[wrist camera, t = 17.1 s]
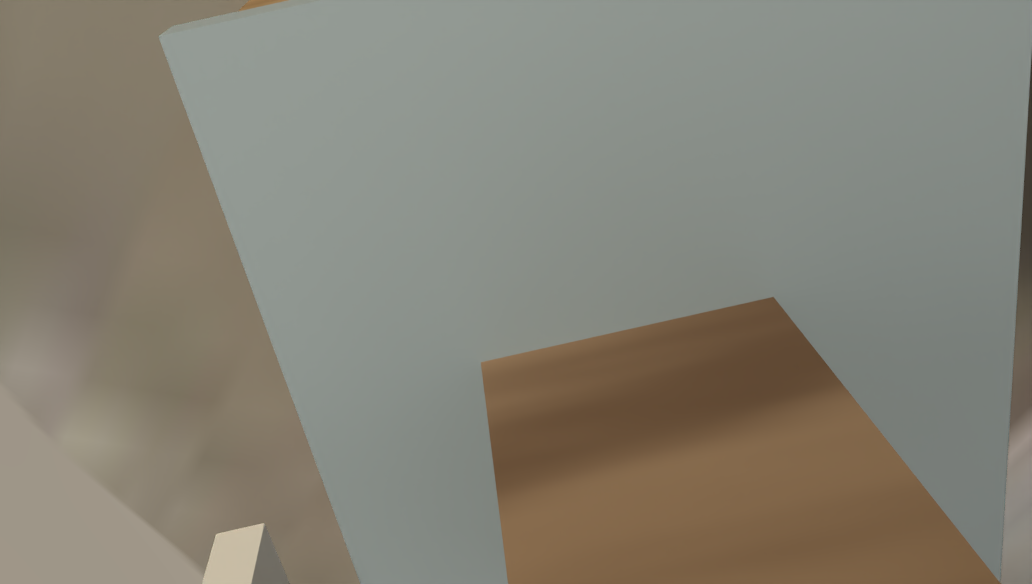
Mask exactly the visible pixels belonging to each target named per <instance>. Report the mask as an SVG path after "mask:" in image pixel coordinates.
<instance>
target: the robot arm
mask: <svg viewBox="0 0 1032 584" xmlns="http://www.w3.org/2000/svg"><path fill="white" fill-rule="evenodd" d="M202 584H290V583H289V581H288V578H287V576H286V574H285V571H284V569H283V566H282V564H281V562H280V559H279V557H278V554H277V552H276V550H275V547H274V545H273V542H272V540H271V538H270V535H269V533H268V530H267V528H266V526H265V523H263V524H258V525H254V526H249V527H245V528H240V529H236V530H232V531H227V532H223V533H218V534H216V536H215V540H214V543H213V547H212V550H211V554H210V557H209V561H208V565H207V568H206V572H205V575H204V579H203V582H202Z"/></svg>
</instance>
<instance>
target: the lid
mask: <svg viewBox="0 0 1032 584" xmlns="http://www.w3.org/2000/svg"><path fill="white" fill-rule="evenodd" d="M159 39H160V42H161V45H162V47H163V50H164V53H165V55H166V58H167V61H168V64H169V66H170V69H171V72H172V74H173V77H174V80H175V82H176V85H177V88H178V91H179V93H180V96H181V99H182V101H183V104H184V107H185V110H186V112H187V115H188V118H189V120H190V123H191V126H192V129H193V131H194V134H195V137H196V139H197V142H198V145H199V147H200V150H201V153H202V156H203V158H204V161H205V164H206V166H207V169H208V172H209V175H210V177H211V180H212V183H213V185H214V188H215V191H216V194H217V196H218V199H219V202H220V204H221V207H222V210H223V213H224V215H225V218H226V221H227V223H228V226H229V229H230V231H231V234H232V237H233V240H234V242H235V245H236V248H237V250H238V253H239V256H240V259H241V261H242V264H243V267H244V269H245V272H246V275H247V278H248V280H249V283H250V286H251V288H252V291H253V294H254V296H255V299H256V302H257V305H258V307H259V310H260V313H261V315H262V318H263V321H264V324H265V326H266V329H267V332H268V334H269V337H270V340H271V343H272V345H273V348H274V351H275V353H276V356H277V359H278V361H279V364H280V367H281V370H282V372H283V375H284V378H285V380H286V383H287V386H288V389H289V391H290V394H291V397H292V399H293V402H294V405H295V408H296V410H297V413H298V416H299V418H300V421H301V424H302V427H303V429H304V432H305V435H306V437H307V440H308V443H309V445H310V448H311V451H312V454H313V456H314V459H315V462H316V464H317V467H318V470H319V473H320V475H321V478H322V481H323V483H324V486H325V489H326V492H327V494H328V497H329V500H330V502H331V505H332V508H333V510H334V513H335V516H336V519H337V521H338V524H339V527H340V529H341V532H342V535H343V538H344V540H345V543H346V546H347V548H348V551H349V554H350V557H351V559H352V562H353V565H354V567H355V570H356V573H357V575H358V578H359V581H360V584H508V579H507V571H506V563H505V555H504V547H503V539H502V530H501V522H500V514H499V506H498V498H497V490H496V482H495V474H494V466H493V458H492V450H491V442H490V434H489V425H488V417H487V409H486V401H485V393H484V385H483V377H482V369H481V362H484V361H489V360H493V359H498V358H502V357H507V356H511V355H516V354H520V353H524V352H529V351H533V350H538V349H542V348H547V347H551V346H556V345H560V344H565V343H569V342H574V341H578V340H583V339H587V338H592V337H596V336H601V335H605V334H609V333H614V332H618V331H623V330H627V329H632V328H636V327H641V326H645V325H650V324H654V323H659V322H663V321H668V320H672V319H677V318H681V317H686V316H690V315H694V314H699V313H703V312H708V311H712V310H717V309H721V308H726V307H730V306H735V305H739V304H744V303H748V302H753V301H757V300H762V299H766V298H771V297H774V298H775V299H776V301H777V302H778V303H779V304H780V306H781V307H782V308H783V309H784V311H785V312H786V313H787V315H788V316H789V317H790V318H791V320H792V321H793V322H794V323H795V325H796V326H797V327H798V328H799V330H800V331H801V332H802V333H803V335H804V336H805V337H806V338H807V340H808V341H809V342H810V344H811V345H812V346H813V347H814V349H815V350H816V351H817V352H818V354H819V355H820V356H821V357H822V359H823V360H824V361H825V362H826V364H827V365H828V366H829V368H830V369H831V370H832V371H833V373H834V374H835V375H836V376H837V378H838V379H839V380H840V381H841V383H842V384H843V385H844V386H845V388H846V389H847V390H848V391H849V393H850V394H851V395H852V397H853V398H854V399H855V400H856V402H857V403H858V404H859V405H860V407H861V408H862V409H863V410H864V412H865V413H866V414H867V415H868V417H869V418H870V419H871V421H872V422H873V423H874V424H875V426H876V427H877V428H878V429H879V431H880V432H881V433H882V434H883V436H884V437H885V438H886V439H887V441H888V442H889V443H890V445H891V446H892V447H893V448H894V450H895V451H896V452H897V453H898V455H899V456H900V457H901V458H902V460H903V461H904V462H905V463H906V465H907V466H908V467H909V468H910V470H911V471H912V472H913V474H914V475H915V476H916V477H917V479H918V480H919V481H920V482H921V484H922V485H923V486H924V487H925V489H926V490H927V491H928V492H929V494H930V495H931V496H932V498H933V499H934V500H935V501H936V503H937V504H938V505H939V506H940V508H941V509H942V510H943V511H944V513H945V514H946V515H947V516H948V518H949V519H950V520H951V521H952V523H953V524H954V525H955V527H956V528H957V529H958V530H959V532H960V533H961V534H962V535H963V537H964V538H965V539H966V540H967V542H968V543H969V544H970V545H971V547H972V548H973V549H974V551H975V552H976V553H977V554H978V556H979V557H980V558H981V559H982V561H983V562H984V563H985V564H986V566H987V567H988V568H989V569H990V571H991V572H992V573H993V575H994V576H995V577H996V578H997V580H998V581H999V582H1000V578H1001V561H1002V544H1003V527H1004V510H1005V493H1006V476H1007V460H1008V443H1009V426H1010V409H1011V392H1012V375H1013V358H1014V341H1015V324H1016V308H1017V291H1018V274H1019V257H1020V240H1021V223H1022V206H1023V189H1024V172H1025V156H1026V139H1027V122H1028V105H1029V88H1030V71H1031V54H1032V0H288V1H283V2H279V3H274V4H270V5H265V6H261V7H256V8H251V9H247V10H242V11H238V12H233V13H229V14H224V15H220V16H215V17H211V18H206V19H202V20H197V21H193V22H188V23H184V24H179V25H175V26H172V27H170V28H169V29H168V30H166V31H165V32H164V33H162V34H161V35H160V36H159Z"/></svg>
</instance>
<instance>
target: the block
mask: <svg viewBox="0 0 1032 584" xmlns="http://www.w3.org/2000/svg"><path fill="white" fill-rule="evenodd" d="M481 369H482V377H483V385H484V393H485V401H486V409H487V417H488V425H489V434H490V442H491V450H492V458H493V466H494V474H495V482H496V490H497V498H498V506H499V514H500V522H501V530H502V539H503V547H504V555H505V563H506V571H507V579H508V584H1001V583H1000V582H999V581H998V580H997V578H996V577H995V576H994V575H993V573H992V572H991V571H990V569H989V568H988V567H987V566H986V564H985V563H984V562H983V561H982V559H981V558H980V557H979V556H978V554H977V553H976V552H975V551H974V549H973V548H972V547H971V545H970V544H969V543H968V542H967V540H966V539H965V538H964V537H963V535H962V534H961V533H960V532H959V530H958V529H957V528H956V527H955V525H954V524H953V523H952V521H951V520H950V519H949V518H948V516H947V515H946V514H945V513H944V511H943V510H942V509H941V508H940V506H939V505H938V504H937V503H936V501H935V500H934V499H933V498H932V496H931V495H930V494H929V492H928V491H927V490H926V489H925V487H924V486H923V485H922V484H921V482H920V481H919V480H918V479H917V477H916V476H915V475H914V474H913V472H912V471H911V470H910V468H909V467H908V466H907V465H906V463H905V462H904V461H903V460H902V458H901V457H900V456H899V455H898V453H897V452H896V451H895V450H894V448H893V447H892V446H891V445H890V443H889V442H888V441H887V439H886V438H885V437H884V436H883V434H882V433H881V432H880V431H879V429H878V428H877V427H876V426H875V424H874V423H873V422H872V421H871V419H870V418H869V417H868V415H867V414H866V413H865V412H864V410H863V409H862V408H861V407H860V405H859V404H858V403H857V402H856V400H855V399H854V398H853V397H852V395H851V394H850V393H849V391H848V390H847V389H846V388H845V386H844V385H843V384H842V383H841V381H840V380H839V379H838V378H837V376H836V375H835V374H834V373H833V371H832V370H831V369H830V368H829V366H828V365H827V364H826V362H825V361H824V360H823V359H822V357H821V356H820V355H819V354H818V352H817V351H816V350H815V349H814V347H813V346H812V345H811V344H810V342H809V341H808V340H807V338H806V337H805V336H804V335H803V333H802V332H801V331H800V330H799V328H798V327H797V326H796V325H795V323H794V322H793V321H792V320H791V318H790V317H789V316H788V315H787V313H786V312H785V311H784V309H783V308H782V307H781V306H780V304H779V303H778V302H777V301H776V299H775V298H774V297H771V298H766V299H762V300H757V301H753V302H748V303H744V304H739V305H735V306H730V307H726V308H721V309H717V310H712V311H708V312H703V313H699V314H694V315H690V316H686V317H681V318H677V319H672V320H668V321H663V322H659V323H654V324H650V325H645V326H641V327H636V328H632V329H627V330H623V331H618V332H614V333H609V334H605V335H601V336H596V337H592V338H587V339H583V340H578V341H574V342H569V343H565V344H560V345H556V346H551V347H547V348H542V349H538V350H533V351H529V352H524V353H520V354H516V355H511V356H507V357H502V358H498V359H493V360H489V361H484V362H481Z"/></svg>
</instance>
